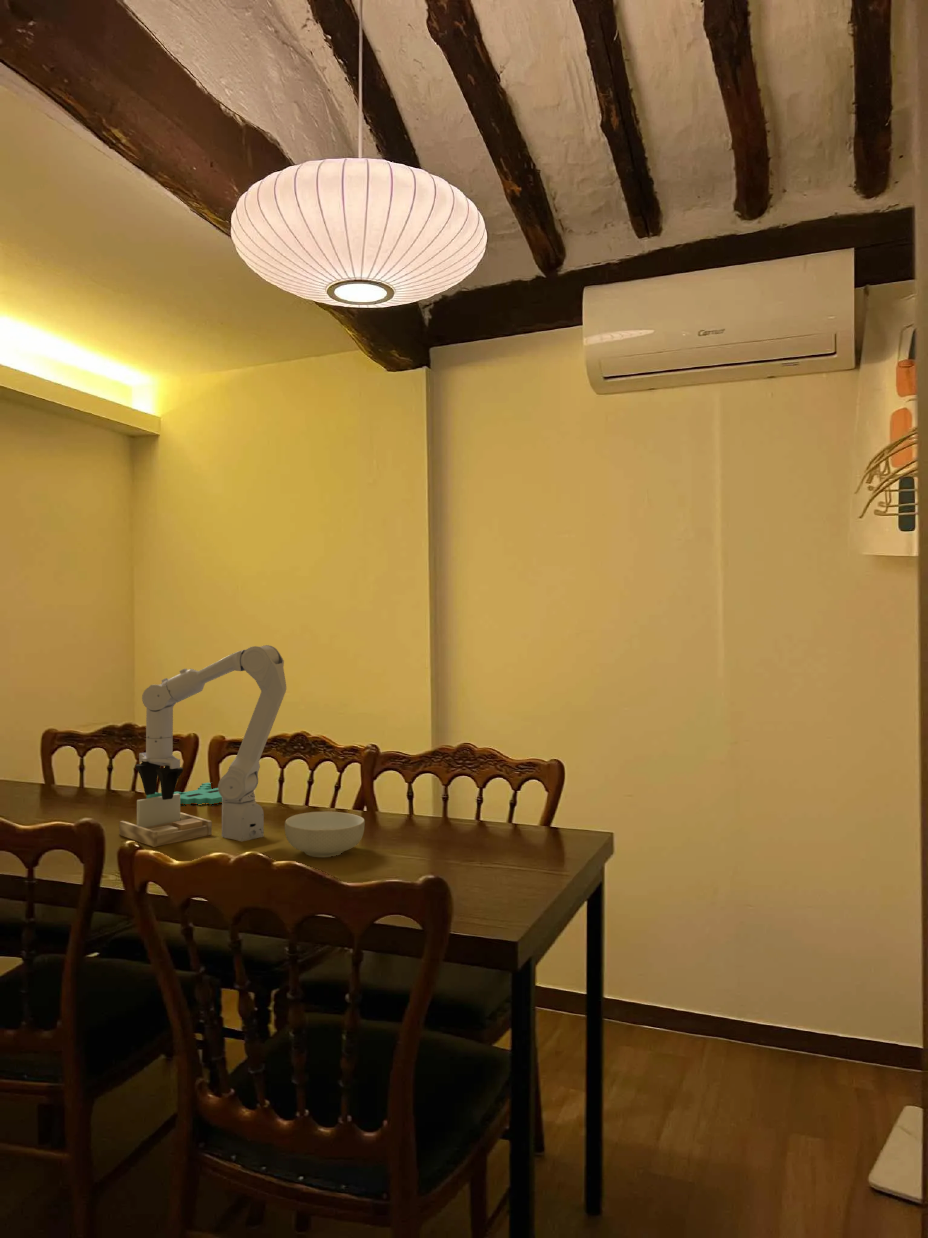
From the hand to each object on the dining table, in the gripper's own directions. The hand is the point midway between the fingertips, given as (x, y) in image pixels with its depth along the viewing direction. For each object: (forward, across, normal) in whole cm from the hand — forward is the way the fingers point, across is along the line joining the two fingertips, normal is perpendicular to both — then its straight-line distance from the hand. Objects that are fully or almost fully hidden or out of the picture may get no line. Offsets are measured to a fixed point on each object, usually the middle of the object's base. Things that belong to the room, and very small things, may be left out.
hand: (158, 796), depth 191 cm
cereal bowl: (+9, +38, +17) cm, 43 cm away
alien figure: (+10, -30, +29) cm, 43 cm away
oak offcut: (+8, +7, +3) cm, 11 cm away
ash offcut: (+8, +7, -3) cm, 11 cm away
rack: (+9, +3, 0) cm, 10 cm away
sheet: (+8, 0, 0) cm, 8 cm away
